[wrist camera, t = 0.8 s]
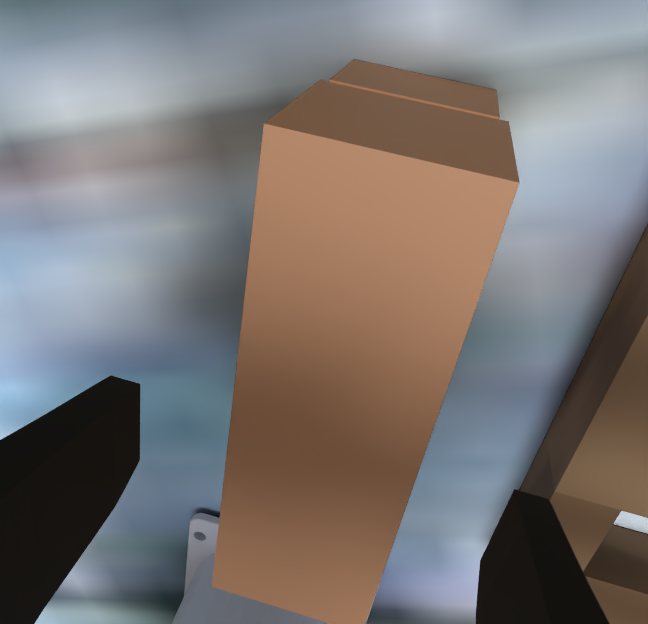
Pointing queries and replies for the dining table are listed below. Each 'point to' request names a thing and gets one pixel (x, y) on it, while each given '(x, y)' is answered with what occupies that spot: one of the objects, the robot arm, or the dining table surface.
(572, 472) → the brown flat slab
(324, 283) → the tan stepped block
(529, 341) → the dining table surface
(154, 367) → the dining table surface
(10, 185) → the dining table surface
